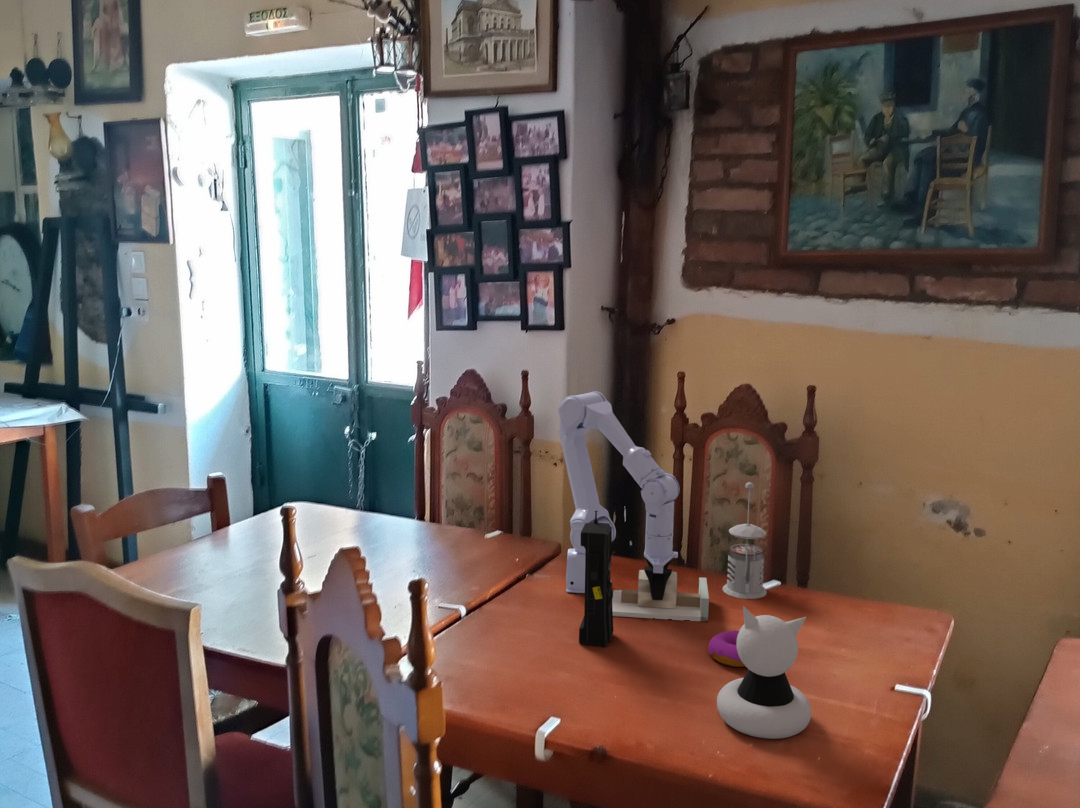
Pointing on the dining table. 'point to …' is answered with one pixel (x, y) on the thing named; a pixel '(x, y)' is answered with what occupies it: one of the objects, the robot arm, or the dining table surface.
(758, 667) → the decorative figurine
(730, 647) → the donut
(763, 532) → the french press
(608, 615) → the portable radio
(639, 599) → the saddle block
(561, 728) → the dining table surface
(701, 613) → the board
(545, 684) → the dining table surface
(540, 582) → the dining table surface
